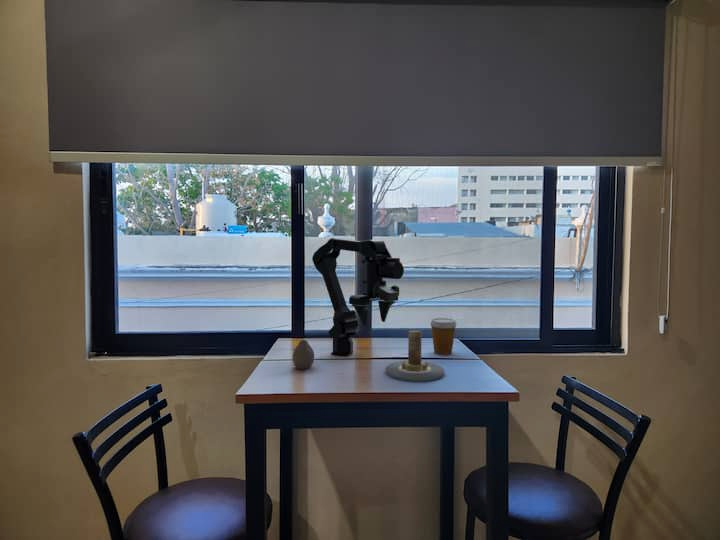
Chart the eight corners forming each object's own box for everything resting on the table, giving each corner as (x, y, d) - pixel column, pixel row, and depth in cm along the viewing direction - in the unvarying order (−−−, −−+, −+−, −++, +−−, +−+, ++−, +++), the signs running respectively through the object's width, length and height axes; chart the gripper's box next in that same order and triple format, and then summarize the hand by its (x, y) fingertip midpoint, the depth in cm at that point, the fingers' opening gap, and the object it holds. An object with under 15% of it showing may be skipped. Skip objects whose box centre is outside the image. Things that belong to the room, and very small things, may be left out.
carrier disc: (378, 377, 137) (378, 373, 137) (394, 362, 154) (394, 358, 154) (438, 384, 131) (438, 379, 131) (448, 367, 148) (448, 363, 148)
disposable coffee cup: (445, 357, 161) (445, 323, 160) (424, 352, 168) (424, 320, 167) (461, 353, 167) (462, 320, 166) (440, 348, 174) (441, 317, 173)
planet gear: (405, 372, 138) (406, 334, 137) (398, 365, 146) (399, 329, 145) (431, 371, 139) (431, 333, 138) (422, 364, 147) (423, 328, 146)
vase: (317, 365, 150) (317, 339, 149) (308, 371, 143) (308, 344, 143) (298, 363, 152) (298, 337, 151) (288, 369, 146) (288, 342, 145)
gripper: (372, 280, 141) (372, 330, 142) (410, 277, 154) (410, 323, 155) (347, 278, 149) (347, 325, 150) (386, 275, 162) (385, 318, 163)
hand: (374, 323), depth 154 cm, fingers open, 9 cm apart
